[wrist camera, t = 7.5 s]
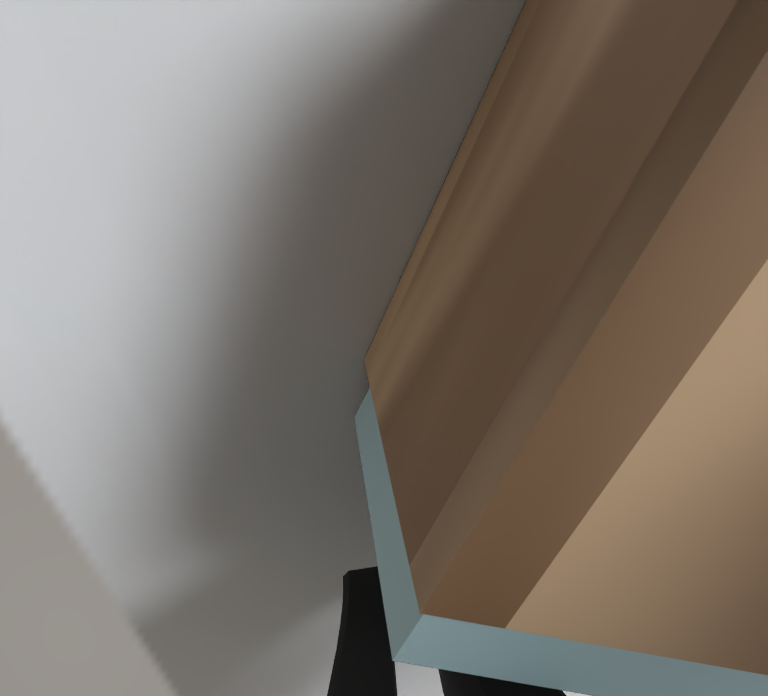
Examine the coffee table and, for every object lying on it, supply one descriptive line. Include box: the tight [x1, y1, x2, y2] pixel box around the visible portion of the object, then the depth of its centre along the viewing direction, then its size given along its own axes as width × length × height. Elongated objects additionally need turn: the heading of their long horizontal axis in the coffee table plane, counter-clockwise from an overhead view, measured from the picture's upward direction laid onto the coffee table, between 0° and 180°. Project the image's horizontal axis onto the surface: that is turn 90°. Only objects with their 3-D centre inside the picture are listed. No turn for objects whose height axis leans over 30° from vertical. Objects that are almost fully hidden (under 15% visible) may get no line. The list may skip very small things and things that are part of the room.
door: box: [354, 388, 768, 696], centre depth 10 cm, size 12×1×5 cm, turn 65°
